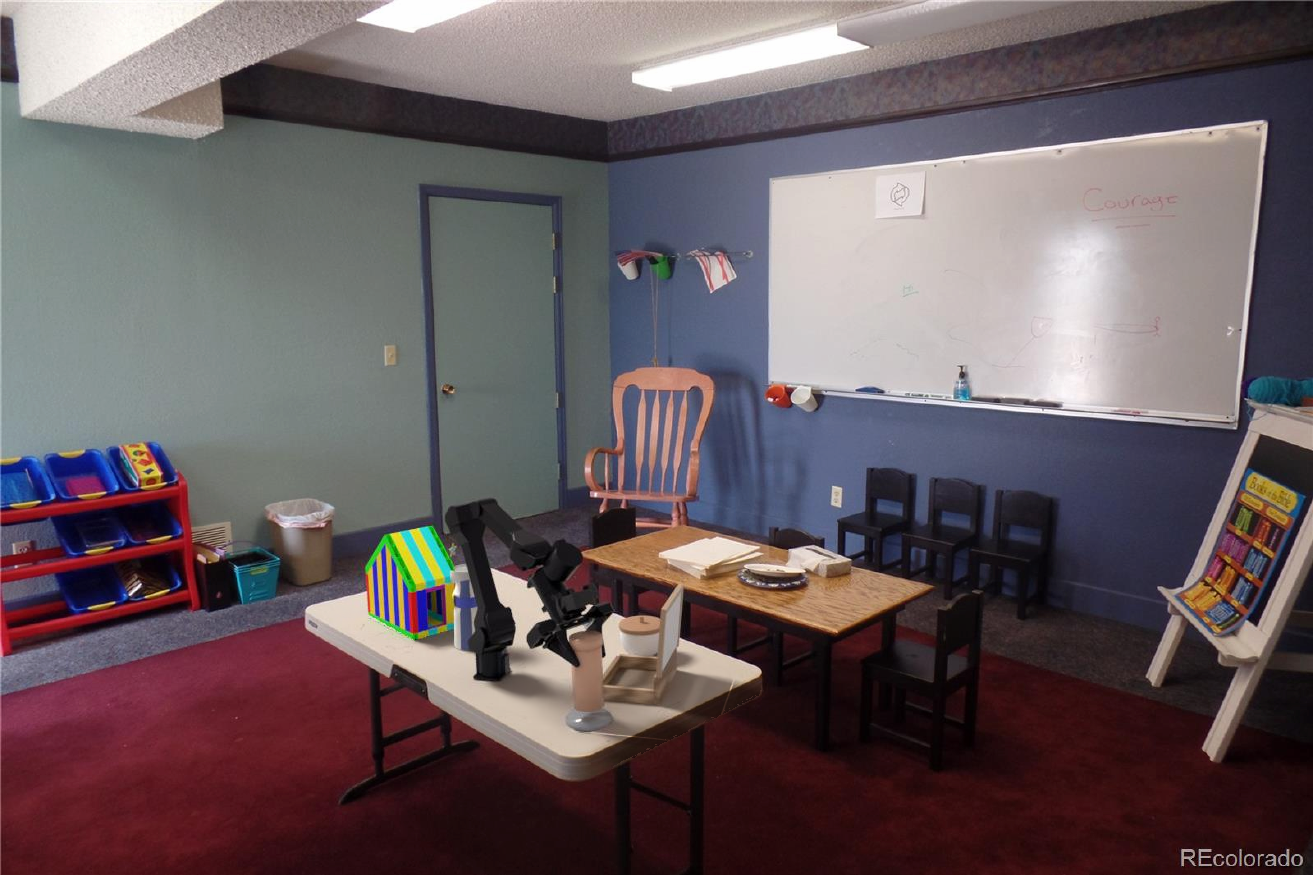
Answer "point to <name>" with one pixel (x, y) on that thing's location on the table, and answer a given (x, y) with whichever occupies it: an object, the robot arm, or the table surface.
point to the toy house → (411, 583)
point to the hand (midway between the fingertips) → (591, 661)
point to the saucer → (588, 720)
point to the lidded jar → (640, 635)
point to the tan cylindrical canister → (587, 671)
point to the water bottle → (462, 605)
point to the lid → (669, 628)
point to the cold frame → (637, 679)
